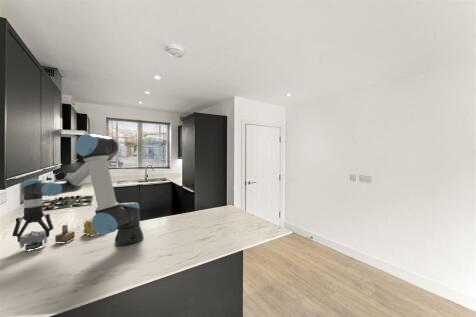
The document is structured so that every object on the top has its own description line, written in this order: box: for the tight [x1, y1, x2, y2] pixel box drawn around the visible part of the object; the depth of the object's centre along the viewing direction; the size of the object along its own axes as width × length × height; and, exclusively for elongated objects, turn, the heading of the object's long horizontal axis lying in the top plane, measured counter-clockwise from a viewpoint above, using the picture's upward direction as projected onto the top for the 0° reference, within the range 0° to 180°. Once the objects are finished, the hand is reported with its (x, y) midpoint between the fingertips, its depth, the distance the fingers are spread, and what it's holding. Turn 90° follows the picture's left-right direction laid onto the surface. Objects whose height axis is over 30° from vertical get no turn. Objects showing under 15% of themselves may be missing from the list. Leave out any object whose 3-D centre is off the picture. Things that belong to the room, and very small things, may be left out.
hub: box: [24, 230, 44, 250], centre depth 112 cm, size 7×7×10 cm
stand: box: [54, 224, 76, 243], centre depth 121 cm, size 6×6×10 cm
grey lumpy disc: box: [18, 230, 45, 246], centre depth 112 cm, size 9×9×4 cm
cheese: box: [83, 217, 99, 235], centre depth 135 cm, size 10×11×10 cm
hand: (34, 245), depth 112 cm, fingers closed on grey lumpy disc, 9 cm apart
